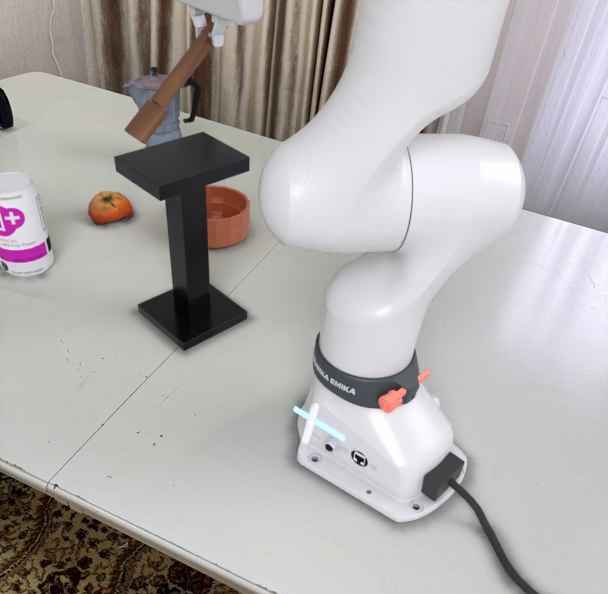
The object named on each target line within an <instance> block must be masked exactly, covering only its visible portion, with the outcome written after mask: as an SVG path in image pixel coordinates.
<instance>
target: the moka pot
mask: <svg viewBox="0 0 608 594" xmlns="http://www.w3.org/2000/svg"><path fill="white" fill-rule="evenodd" d="M149 70H150V74H148V75H141V76H138V77H136V78H135V79H132V80H129V81H126V82H125V84H123V86H122V88H123V89H125V90H126V91H127V93H128V94H129V96H130V97H131V99H132V101H133V102H134V104H135V105H136V107H137V109H138V111H139V110H140V108H141V107H142V106H143V104H144V103H145V102H146V101H147V99H149V100H151V97H152V96H153V95H154V93H155V92H156V91H157V89H158V88H159V87H160V86H161V84H162V83H163V82H164V80H165V79H166V78H167V76H168V75H169V74H161V73H160V74H158V67H157V66H151V67H149ZM190 86H192V87H193V89H194V92H193V98H192V103H191V111H190V114H189V117H187V118H183V119H182V122H183V123H184V124H188V123H190V124H191V123H194V122H195V119H196V116H197V110H198V106H199V102H200V98H201V94H202V86H201V85H200V84H199V82H198V81H196V80H195V78H193V77H192V75H191V76H190V77H189V78H188V80H187V81H186V82H185V84H184V85H183V86H182V88H183V89H185V88H187V87H190ZM182 88H181V89H182ZM181 89H180V90H179V92H178V93H177V94H176V95H175V97H174V98H173V99H172V101H171V102H170V103H169V105H168V106H167V107H166V108H165V109H166V110H167V111H168V113H169V114H168V115H167V116H166V118H165V119H164V120H163V122H162V123H161V124H160V126H159V127H158V128H157V130H156V131H155V132H154V133H153V135H152V136H151V137H150V139H149V140H148V141H147V143H146V144H145V148H146V147H150V146H154V145H157V144H161V143H164V142H168V141H171V140H175V139H179V138H182V137H183V134H182V131H181V128H180V122H181V119H180V117H181ZM151 101H152V100H151Z"/></svg>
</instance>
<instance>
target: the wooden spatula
mask: <svg viewBox="0 0 608 594" xmlns="http://www.w3.org/2000/svg"><path fill="white" fill-rule="evenodd" d="M213 26H214V22H212V18H211V19H210V20H209V21H208V22H207V26H206V27H205V28H204V29H203V31H202V32H201V33H200V35H199V36H198V37H197V39H196V38H195V39H194V41H193V42H192V44H191V45H190V47H188V48H187V50H186V52H185V53H184V54H183V55H182V56H181V58H180V59H179V61H178V62H177V63H176V65H175V66H174V67H173V68H172V70H171V71H170V72H169V74H167V75H168V76H167V78H166V79H165V80H164V82H163V83H162V84H161V86H160V87H159V88H158V89H157V91H156V92H155V93H154V95H153V96H152V97H151V100H152V101H151V100H149V99H147V101H146V102H145V103H144V104H143V106H142V107H141V108H140V110H138V111H137V112H136V113H135V115H134V116H133V118H132V119H131V120H130V121H129V123H128V124H127V125H126V126H125V128H124V131H125V133H126V134H128V135H129V136H130V137H132V138H134V139H135V140H137V141H138V142H140V143H141V144H143V145H146V143H147V141H148V140H149V139H150V137H151V136H152V135H153V133H154V132H155V131H156V130H157V128H158V127H159V126H160V124H161V123H162V122H163V120H164V119H165V118H166V116H167V115H168V114H169V113H168V111H167V110H166V109H165V108H166V107H167V106H168V105H169V103H170V102H171V101H172V99H173V98H174V97H175V95H176V94H177V93H178V92H179V90H180V91H181V89H182V86H183V85H184V84H185V82H186V81H187V80H188V78H189V77H190V76H192V75H193V74H194V72H195V71H196V69H197V68H198V67H199V66H200V65H201V62H202V61H203V60H204V59H205V58H206V57H207V55H208V54H209V53H210V52H211V50H212V48H213V47H214V46H212V45H210V44H209V36H208V33H209V32H212V30H213ZM228 27H229V25H228V26H227V28H226V30H227V29H228Z"/></svg>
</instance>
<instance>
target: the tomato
mask: <svg viewBox="0 0 608 594" xmlns="http://www.w3.org/2000/svg"><path fill="white" fill-rule="evenodd" d="M87 207H88V208H87V209H88V210H87V212H88V214H87V215H88V216H89V218H90V219H91V221H92V222H93V223H94V224H95V225H96V226H98V225H103V224H106V223H109V222H115V223H116V222H117V221H119V220H120V219H123V218H124V217H128V219H127V221H126V222H128V221H129V220H131V219H132V217H133V216H135V215H134V209H133V205H132V203H131V201H130V200H129V199H128V198H127V196H125V195H124V194H122V193H121V192H119V191H114V190H113V191H112V190H108V191H106V190H103V191H100V192H98V193H96V194H95V195H94V196H93V197H92V198H91V199H90V201H89V203H88V206H87Z"/></svg>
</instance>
